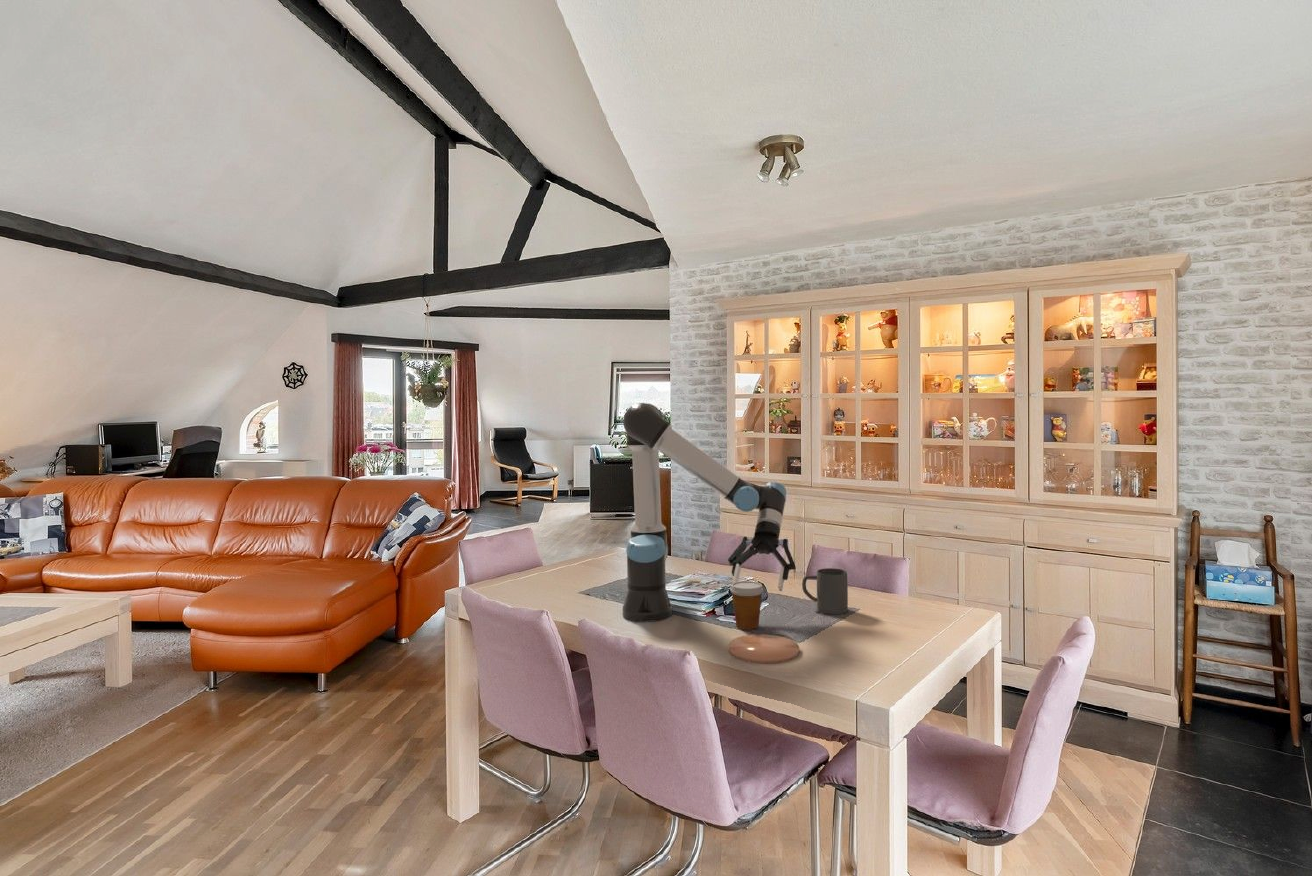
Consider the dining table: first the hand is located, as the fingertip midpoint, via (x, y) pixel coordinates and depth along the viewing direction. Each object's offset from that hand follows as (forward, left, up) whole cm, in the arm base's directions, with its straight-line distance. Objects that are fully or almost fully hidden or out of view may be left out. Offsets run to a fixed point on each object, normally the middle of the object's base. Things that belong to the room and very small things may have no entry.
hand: (756, 587), depth 198 cm
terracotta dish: (+17, -18, -10) cm, 26 cm away
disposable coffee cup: (+1, -6, -10) cm, 12 cm away
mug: (+7, +23, -10) cm, 27 cm away
